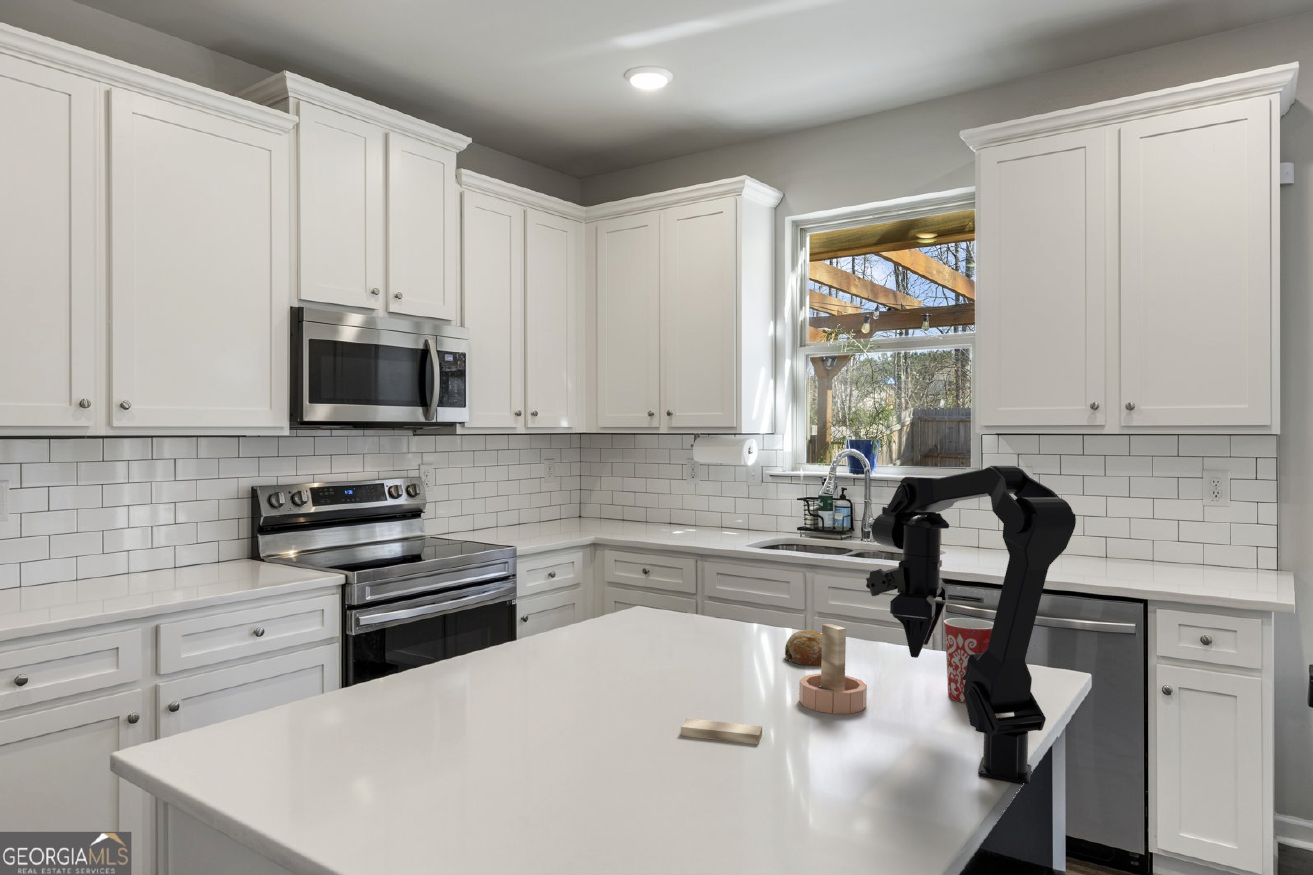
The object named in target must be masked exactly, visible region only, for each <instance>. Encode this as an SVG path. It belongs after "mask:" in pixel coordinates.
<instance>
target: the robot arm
mask: <svg viewBox="0 0 1313 875" xmlns="http://www.w3.org/2000/svg"><path fill="white" fill-rule="evenodd" d="M899 483H900V484H899V485H898V486H897V488H896V490H895V492H894V494H893V496H892V498H891V500H890V502H889V504H888V505H887V506H882V508H881V513H880V514H878V516H877V517H876V518H875V519H874V521H873V522H872V525H871V528H870V529H871V534H872V535H871V536H872V537H873V540H874V541H875V542H876V544H879V545H880V546H883V547H884V546H885V547H889V548H894V549H898V550H902V559H901V560H900V561H899V562H898V565H897V566H898V567H894V568H890V569H886V570H883V569H882V568H878V569H875V570H874V569H873V570H871V571H869V575H868V576H866V577H865V580H866V585H865V587H866V588H867V589H869V592H870V596H871V597H876V596H879V595H880V594H882V593H884V594H885V593H887V592H890V591H894V590H897V591H896V593H897V595H896V596H894V598H892V599H891V600H890V601H889V602H890V603H889V604H890V605H889V606H890V607H889V612H890V614H891V615H892V616H893V618H895V619H896V620H898V622H899V623H901V625H902V626H903V629H904V634H905V637H906V642H907V646H908V650H909V651H908V652H909V655H910V657H911V658H916V659H917V658H919V656H920V654H921V651H922V650H923V647H924V645H925V646H927V645H928V644H929V642H930V641H931V640H930V639H931V637H932V635H933V633H934V630H935V629H936V626H937V624H938V622H939V619H940V618H941V615H942V613H943V610H944V608H945V606H946V604H947V601H948V598H949V586H948V585H947V584H945V582H944V581H941V580H940V578H941V577H940V575H941V567H942V566H943V559H941V533H942V532H941V531H942V529H944V530H946V529H949V528H950V524H949V523H948V521H947V520H946V519H945V518H944V517H943V516H942V514H941V512H943V511H946V510H947V509H949V508H952V507H953V506H954V505H955V503H957V502H960V501H966V500H967V501H968V500H973V499H979V498H985V497H986V498H987V497H990V501H991V502H990V503H991V509H992V512H993V513H994V515H995V516H996V517H997V518H998V519H999V520H1000V522H1002V523H1003V527H1002V539H1003V542H1004V544H1005V546H1006V550H1007V551H1008V555H1009V557H1008V563H1007V566H1006V570H1005V574H1004V579H1003V583H1002V587H1001V591H1000V595H999V601H998V604H997V607H996V611H995V616H994V621H993V623H994V624H993V628H992V632H991V636H990V640H989V645H988V648H987V650H986V651H985V652H984V653H982V654H971V655H970V656H969V658H968V661H967V670H966V673H965V675H964V676H963V680H966V681H965V684H964V696H965V701H966V703H965V706H966V711H967V715H968V721H969V725H970V726H971V727H973V728H974V729H975V731H976V732H978V733H980V734H981V733H982V734H983V747H982V748H983V751H982V752H983V753H982V754H983V756H981V760H980V763H979V766H978V769H977V774H978V775H979V776H981V777H988V778H993V779H997V780H1003V781H1008V782H1013V783H1019V784H1023V785H1024V784H1025V785H1029V784H1030V781H1031V774H1032V765H1031V764H1029V763H1028V761H1029V758H1028V757H1029V756H1028V755H1029V754H1028V753H1029V732H1034V731H1035V732H1036V731H1039V732H1041V731H1043V729H1044V727H1045V724H1046V723H1045V722H1046V716H1045V714H1044V712H1043V710H1042V708H1041V707H1040V706H1039V704H1038V701H1037V700H1036V699H1035V697H1034V695H1033V692H1032V691H1031V690H1032V681H1033V680H1032V679H1033V678H1032V674H1031V673H1030V669H1029V667H1028V664H1027V662H1026V658H1027V653H1028V650H1029V645H1030V641H1031V639H1032V634H1033V631H1034V626H1035V623H1036V618H1037V615H1038V614H1037V613H1038V611H1039V607H1040V602H1041V599H1042V594H1043V591H1044V587H1045V583H1046V579H1047V574H1048V572H1049V568H1050V566H1051V565H1052V564H1053V563H1054V562H1055V560H1056V559H1057V558H1058V557H1059V556H1061V554H1063V552H1064V551H1065V550H1066V549H1067V546H1068V545H1069V543H1070V539H1071V538H1072V535H1073V534H1074V530H1075V528H1076V524H1077V517H1076V513H1074V511H1073V509H1072V507H1071V505H1070V504H1069V503H1068V501H1066V500H1065V499H1064V498H1061V497H1060V496H1058V494H1057V493H1056V492H1055V491H1053V490H1052V489H1051V488H1050V487H1047V486H1046V485H1044V484H1042V483H1040V482H1039V481H1037V480H1035V479H1033V478H1032V477H1030V476H1029V475H1028V474H1027V473H1026V472H1025V471H1024V470H1023V469H1022V468H1020V467H1018V466H1016V465H990V466H988V467H986V468H981V469H977V470H973V471H972V470H971V471H967V472H963V473H958V474H953V475H948V476H904V477H902V478H901V480H900V482H899ZM1012 495H1013V496H1014V497H1015V499H1014V497H1013V496H1012ZM938 598H941V600H939V599H938ZM1011 713H1012V714H1013V715H1011V716H1009V715H1008V716H1002V717H1001V716H1000V717H997V716H996V715H1002V714H1004V715H1005V714H1011Z"/></svg>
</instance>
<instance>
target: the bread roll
mask: <svg viewBox="0 0 1313 875" xmlns="http://www.w3.org/2000/svg"><path fill="white" fill-rule="evenodd" d="M784 655H785V657H784V659H785V661H788V662H791V663H794V664H798V665H801V666H805V667H806V666H807V667H820V666H821V662H822V632H821V633H820V632H819V631H817V630H812V629H801V630H798V631H796V632H794V633H792V634H791V636H790V637H789V638H788V640H787V641H786V643H785V647H784Z"/></svg>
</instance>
